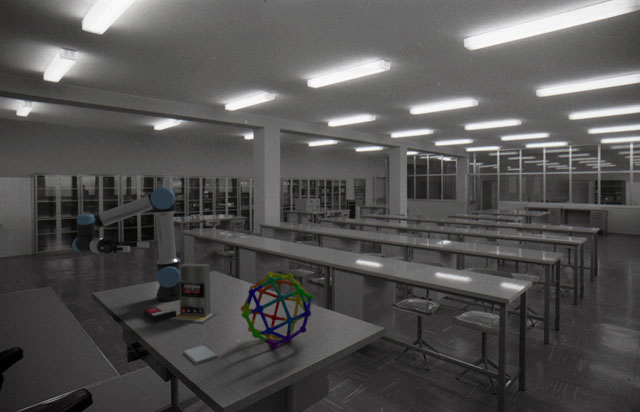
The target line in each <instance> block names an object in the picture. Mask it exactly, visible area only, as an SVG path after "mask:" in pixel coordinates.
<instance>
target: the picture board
mask: <svg viewBox="0 0 640 412" xmlns="http://www.w3.org/2000/svg"><path fill="white" fill-rule="evenodd" d="M179 313H180V310H178V311H176V317H173V318H170V319H166V320H165V321H167V322H178V323H179V322H180V323H190V324H205V323H207V322H208V321H209V320H210V319H212V318H213V317H215V316H217V315H218V312H211V313H209V314H208V315H207V316H192V315H179Z"/></svg>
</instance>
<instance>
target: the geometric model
mask: <svg viewBox="0 0 640 412" xmlns="http://www.w3.org/2000/svg"><path fill="white" fill-rule="evenodd" d="M287 280H288V281H287ZM289 280H290V281H289ZM281 284H285V285H288V286H292V287H294V288H295V291H292V292H289V293H286V294H283V293H282V292H281V291H282V288H281V287H282V285H281ZM271 288H274V290H275V293H276V294H275V293H272V292H270V291H268V290H269V289H271ZM256 292H258V293H259V294H258V297H257V296H256ZM263 295H266V296H268V297H269V296H270V297H272V298H274V299H273V300H271V301H269V302H267V303H265V304H263V305H261V300H262V297H263ZM294 296H296V297H294ZM305 297H306V299H305ZM252 299H253V301H254V303H255V306H254V307H255V308H250V306H251V303H252ZM313 299H314V296H313V295H312V294H311V293H308V292H307V291H306V290H305V288H303V286H302V285H301V283H300V282H299V281H296V279H294V274H292V273H290V272H289V273H287V274H283V273H281V274H280V273H274V272H272V271H268V272H267V274H266V276H264V277H263V278H262V279H261V280H259V281H258V282H257V283H256V284H252V285H250V287H249V289H248V296H247V298H246V300H245V302H244V304H243V305H242V306H241V307H240V311H241V312H242V313H241V317H242V318H243V319H245V320H246V322H247V325H248V328H247V331H248V332H250V333H252V337H253V338H255V339H259V340H262V341H263V342H264V343H267V344H269V345H270V347H271V348H272V349H275V348H277V347H278V346H280V345H282V344H284V343H291V342H293V340H294V338H295V337H297V336H298V335H299V334H301V333H302V334H304V333H306V332H307V323H308V319H309V318H310V317H311V316H312V311H311V306H312V301H313ZM306 300H307V302H306ZM286 301H291V302H295V306H294V310H293V311H294V312H293V317H292V316H291V314H290V312H289V309H288V307H287V304H286ZM280 303H281V306H282V308H283V311H284V313H285V316H286V317H280V316H278V315H277V313H278V309H279V306H280ZM274 304H276V305H275V306H274V312H273V314H269V313H265V312H264V310H265V309H267V308H268V307H270V306H272V305H274ZM299 306H300V307H301V308H302V310H303V312H302V313H299V314H298V312H299V311H298V310H299ZM297 314H298V315H297ZM250 315H252V319H251V317H249V316H250ZM257 315H260V317H261V319H262V322H263V324H264V327H265V329H264V330H260V329H257V328H256V327H255V322H256V318H257ZM267 318H268V319H271V324H270V326H269V324H268V320H267ZM302 319H303V321H302V325H301V326H300V327H299V329H298V330H296V331H295V330H294V329H295V326H296V325H295V324H297V323H298V321H300V320H302ZM276 321H282V322H281V323H278V324H276V325H275V323H276ZM285 325H287V328H286V329H287V331H286V335H284V334H281V333H279V332H278V331H276V330H278V329H280V328H282V327H284V326H285ZM294 331H295V332H294ZM274 339H278V341H275V340H274ZM279 339H280V340H279Z"/></svg>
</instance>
